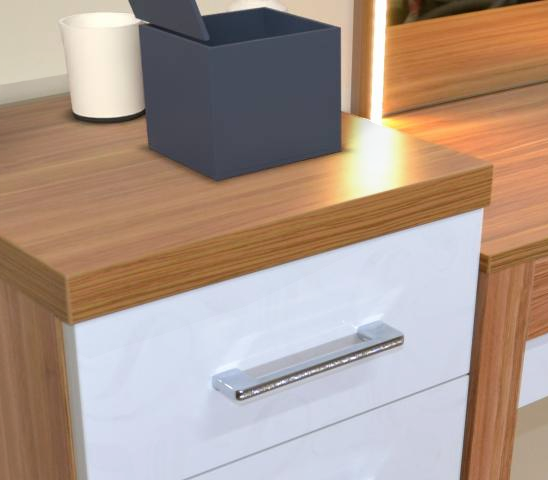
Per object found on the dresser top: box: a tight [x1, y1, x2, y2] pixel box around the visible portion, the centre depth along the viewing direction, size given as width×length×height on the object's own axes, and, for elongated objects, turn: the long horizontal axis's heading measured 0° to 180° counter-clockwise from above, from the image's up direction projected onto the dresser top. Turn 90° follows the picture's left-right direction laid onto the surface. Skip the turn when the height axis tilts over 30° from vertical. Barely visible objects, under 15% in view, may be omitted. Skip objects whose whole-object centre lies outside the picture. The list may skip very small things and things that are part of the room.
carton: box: [138, 7, 342, 182], centre depth 115 cm, size 15×13×12 cm
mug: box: [58, 11, 149, 124], centre depth 127 cm, size 11×9×10 cm
